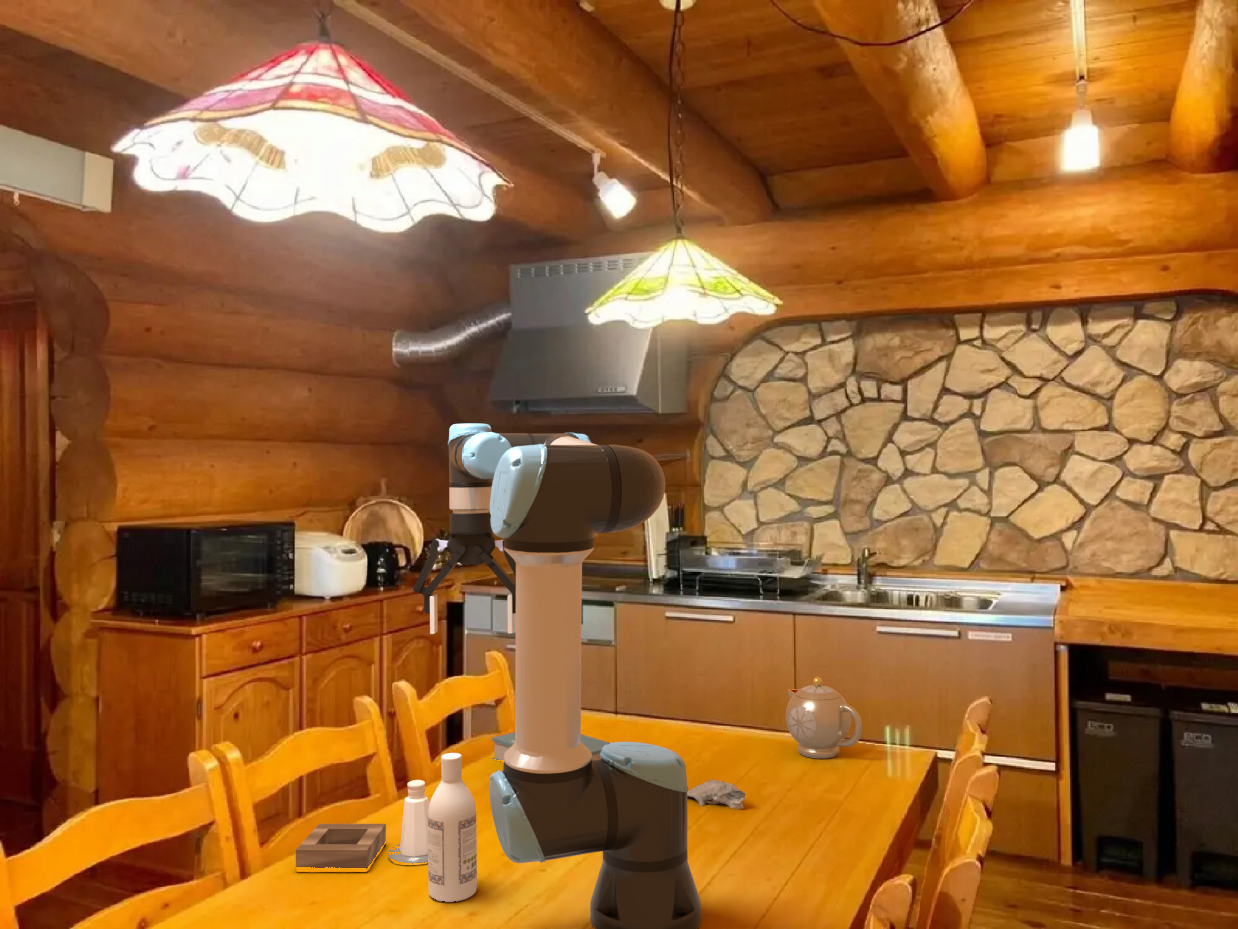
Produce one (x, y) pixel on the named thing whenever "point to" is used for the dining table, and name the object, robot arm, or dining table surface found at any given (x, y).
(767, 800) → the dining table surface
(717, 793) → the stone
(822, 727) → the teapot
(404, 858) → the coaster
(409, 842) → the salt shaker
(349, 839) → the socket block
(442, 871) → the bath foam
